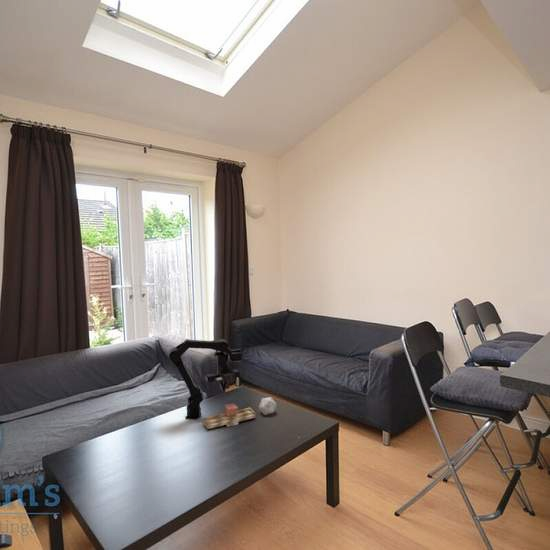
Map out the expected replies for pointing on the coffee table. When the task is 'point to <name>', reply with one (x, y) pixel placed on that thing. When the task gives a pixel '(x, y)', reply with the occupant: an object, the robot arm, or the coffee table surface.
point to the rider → (231, 410)
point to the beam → (228, 418)
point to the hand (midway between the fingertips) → (223, 390)
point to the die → (267, 405)
